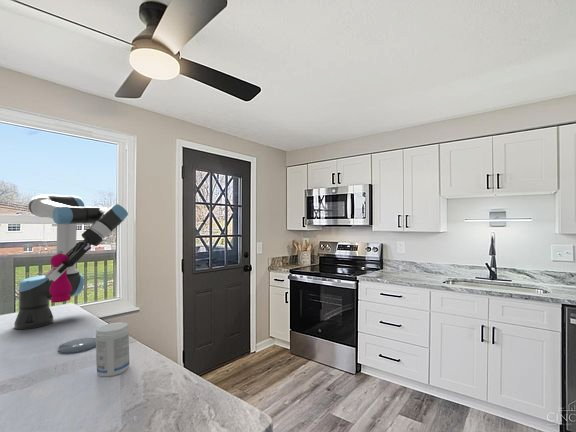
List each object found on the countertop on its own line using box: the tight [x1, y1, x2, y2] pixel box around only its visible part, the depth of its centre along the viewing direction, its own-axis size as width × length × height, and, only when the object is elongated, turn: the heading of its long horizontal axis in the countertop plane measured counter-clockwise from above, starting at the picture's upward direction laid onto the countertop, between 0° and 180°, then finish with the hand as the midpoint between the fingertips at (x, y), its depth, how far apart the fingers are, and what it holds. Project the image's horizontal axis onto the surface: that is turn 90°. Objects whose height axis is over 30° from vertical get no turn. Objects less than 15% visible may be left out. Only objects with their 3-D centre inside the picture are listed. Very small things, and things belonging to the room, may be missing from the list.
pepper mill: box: [49, 250, 72, 304], centre depth 126 cm, size 7×7×20 cm
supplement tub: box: [95, 321, 130, 378], centre depth 105 cm, size 10×10×15 cm
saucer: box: [57, 337, 96, 355], centre depth 127 cm, size 14×14×1 cm
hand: (49, 278), depth 123 cm, fingers closed on pepper mill, 6 cm apart
